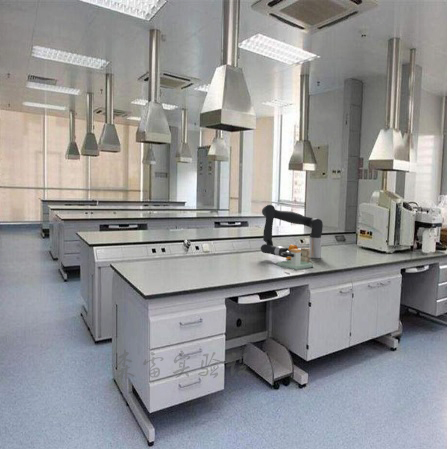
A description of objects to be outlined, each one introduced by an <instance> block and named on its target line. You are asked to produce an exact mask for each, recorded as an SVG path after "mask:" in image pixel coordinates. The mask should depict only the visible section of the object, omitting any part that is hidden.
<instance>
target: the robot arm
mask: <svg viewBox="0 0 448 449" xmlns="http://www.w3.org/2000/svg"><path fill="white" fill-rule="evenodd" d="M261 213H262V215H263V217H265V223H264V226H263V227H264V228H263V233H262V234H263V235H262V236H263V237H262V240H263V242H265V244H262V245H261V246H260V251H261V253H263V254H270V255H274V256H277V257H281V258H285V259H286V257H294V254H291V251H289V249H288V248H289V247H284V246H277V245H274V244H273V225H274V220H275V219H276V220H280V221H283V222H286V223H290V224H292V225H293V224H294V225H302V226H306V227H308V228H310V229H311V232H310V234H309V244H308V245H309V246H308V248H309V249H310V259H320V258H322V243H321V242H322V234H323V228H324V227H323V221H322V220H321V218H316V217H310V216H304V215H303V214H300V213H298V212H294V211H291V210H278V209H276V208H275V206H274V205H273V204H267V205H265V206H264V207H263V208H262V210H261ZM301 256H302V253H301Z"/></svg>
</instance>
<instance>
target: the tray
mask: <svg viewBox="0 0 448 449" xmlns="http://www.w3.org/2000/svg"><path fill="white" fill-rule="evenodd" d="M277 266H278V267H283V268H284V269H285V268H286V269H289V270H290V269H291V270H293V269H294V271H298V270H299V269H300V270H306V269H311V267H312V268H314V263H312V262H310V263H308V262H303V261H301V262H300V265H299V266H294V265H291V260H290V259H288V260H283V261H278V262H277ZM305 268H306V269H305Z"/></svg>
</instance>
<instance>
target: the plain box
mask: <svg viewBox="0 0 448 449" xmlns="http://www.w3.org/2000/svg"><path fill="white" fill-rule="evenodd" d="M300 250H301V253H302V256H301V261H303V262H308V263H311V261H310V260H311V258H310V249H309V247H301V248H300Z"/></svg>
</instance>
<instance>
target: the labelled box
mask: <svg viewBox="0 0 448 449" xmlns="http://www.w3.org/2000/svg"><path fill="white" fill-rule="evenodd" d="M291 254H294V257H291V265H294V266H299V265H300V262H301V248H298V249H291Z"/></svg>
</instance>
